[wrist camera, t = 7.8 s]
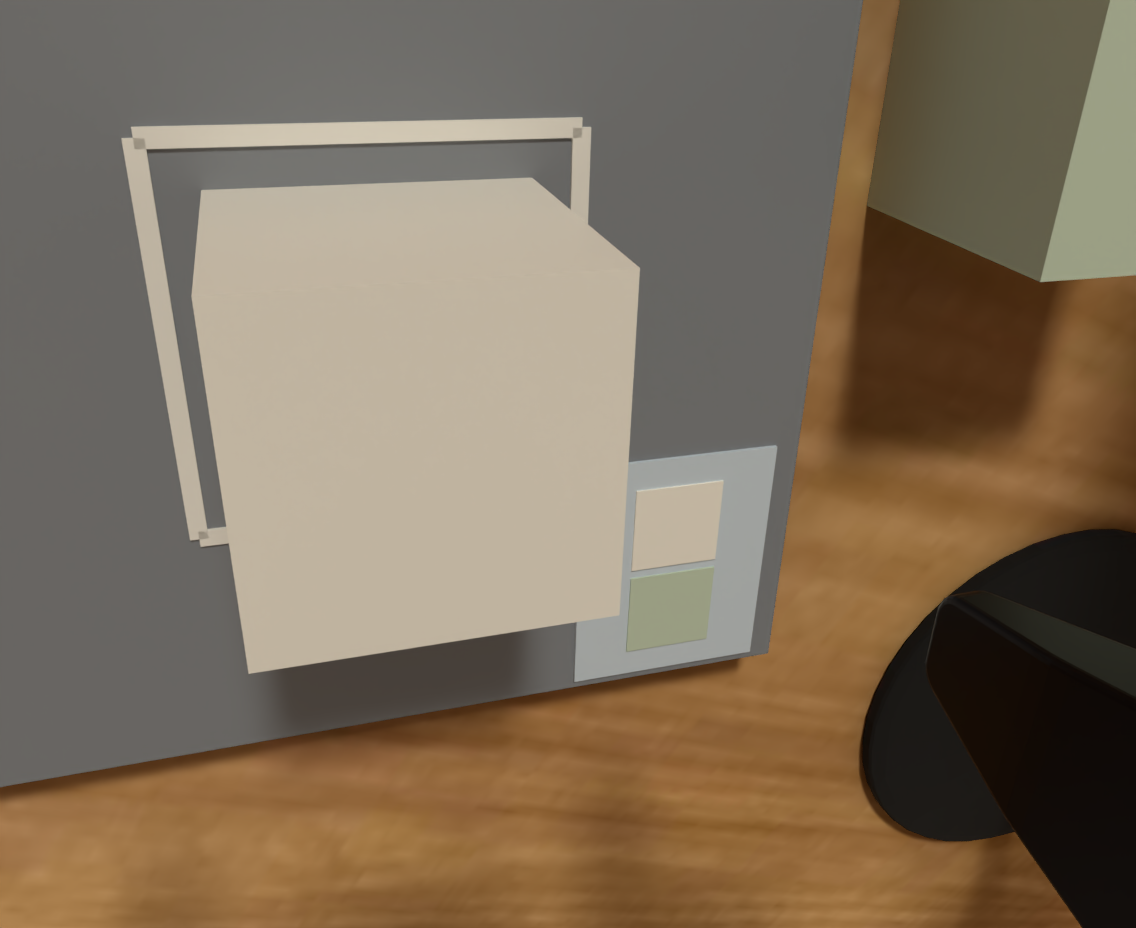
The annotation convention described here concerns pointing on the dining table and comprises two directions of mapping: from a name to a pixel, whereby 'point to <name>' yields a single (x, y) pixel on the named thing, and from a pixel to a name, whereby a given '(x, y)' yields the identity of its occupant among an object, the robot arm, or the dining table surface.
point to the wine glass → (915, 716)
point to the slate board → (367, 156)
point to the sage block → (1015, 132)
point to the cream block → (414, 411)
